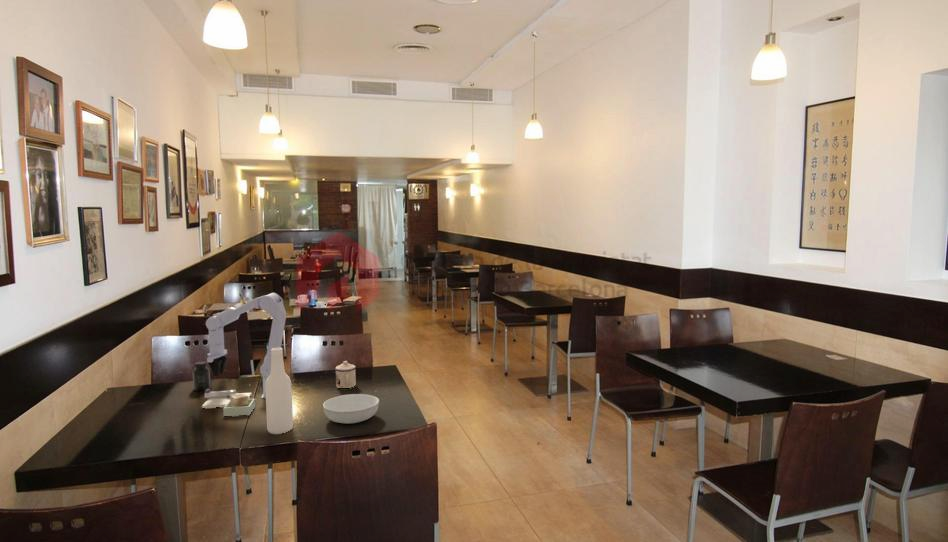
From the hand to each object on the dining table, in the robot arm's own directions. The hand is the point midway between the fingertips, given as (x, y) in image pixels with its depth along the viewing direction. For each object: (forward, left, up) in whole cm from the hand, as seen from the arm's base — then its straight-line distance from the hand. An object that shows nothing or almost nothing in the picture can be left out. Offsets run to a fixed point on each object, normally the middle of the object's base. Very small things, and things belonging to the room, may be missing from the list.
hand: (218, 374), depth 238 cm
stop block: (-14, +23, -9) cm, 28 cm away
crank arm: (-2, +6, -8) cm, 10 cm away
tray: (-14, +23, -9) cm, 28 cm away
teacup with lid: (-54, -1, -10) cm, 54 cm away
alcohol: (-32, +46, -10) cm, 57 cm away
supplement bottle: (+10, -12, -10) cm, 19 cm away
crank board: (-6, +9, -9) cm, 14 cm away
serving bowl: (-58, +40, -10) cm, 71 cm away
